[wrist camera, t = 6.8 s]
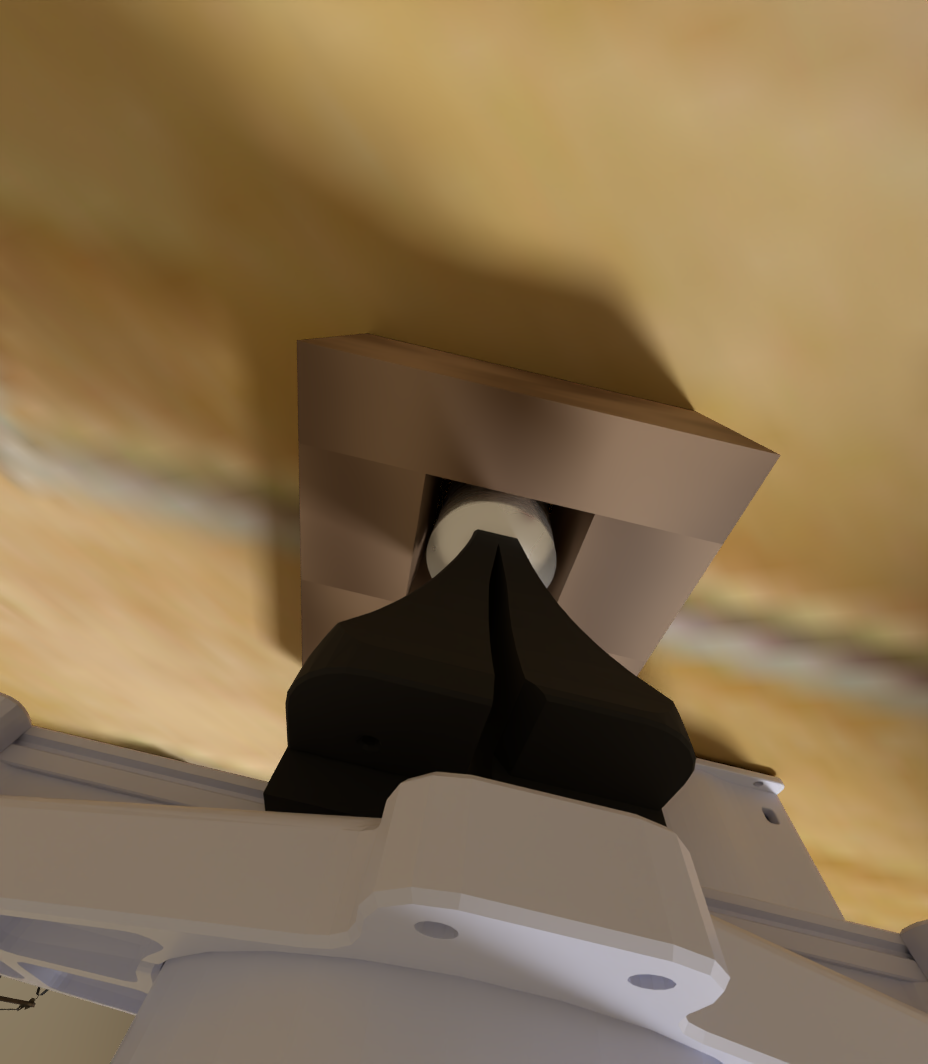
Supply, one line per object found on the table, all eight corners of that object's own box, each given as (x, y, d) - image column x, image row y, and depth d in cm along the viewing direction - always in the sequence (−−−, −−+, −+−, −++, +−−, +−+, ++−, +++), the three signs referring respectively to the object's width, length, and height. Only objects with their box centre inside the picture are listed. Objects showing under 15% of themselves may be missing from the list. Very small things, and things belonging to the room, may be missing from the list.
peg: (559, 465, 15) (575, 522, 11) (529, 549, 17) (534, 624, 13) (459, 441, 15) (437, 489, 11) (442, 528, 17) (417, 596, 13)
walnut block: (696, 411, 14) (780, 454, 9) (532, 736, 24) (536, 831, 19) (366, 333, 14) (297, 340, 9) (343, 691, 24) (304, 775, 19)
